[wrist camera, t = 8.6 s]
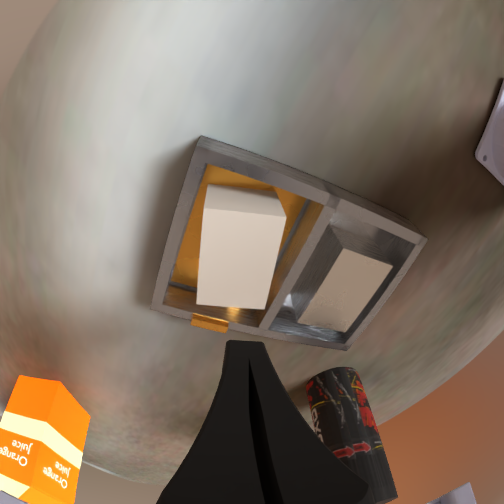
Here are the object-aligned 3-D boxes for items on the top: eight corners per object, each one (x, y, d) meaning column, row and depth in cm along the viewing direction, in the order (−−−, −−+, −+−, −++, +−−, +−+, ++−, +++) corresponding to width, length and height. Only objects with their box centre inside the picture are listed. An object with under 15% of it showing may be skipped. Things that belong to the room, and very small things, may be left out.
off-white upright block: (276, 191, 18) (286, 217, 15) (259, 274, 21) (264, 309, 18) (208, 183, 17) (203, 208, 14) (200, 269, 20) (196, 304, 17)
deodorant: (302, 376, 29) (331, 515, 16) (358, 360, 28) (403, 492, 15) (309, 401, 32) (333, 518, 19) (357, 388, 31) (392, 501, 19)
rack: (408, 219, 20) (432, 243, 17) (337, 326, 25) (348, 356, 22) (201, 135, 16) (194, 148, 13) (157, 283, 21) (148, 315, 18)
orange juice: (60, 381, 28) (24, 529, 11) (91, 417, 33) (71, 543, 16) (18, 374, 28) (-22, 502, 11) (50, 410, 32) (24, 523, 15)
